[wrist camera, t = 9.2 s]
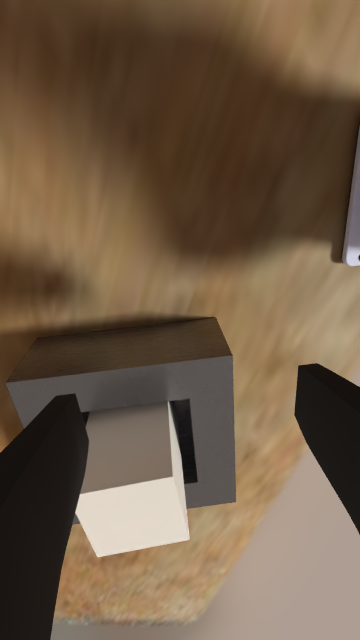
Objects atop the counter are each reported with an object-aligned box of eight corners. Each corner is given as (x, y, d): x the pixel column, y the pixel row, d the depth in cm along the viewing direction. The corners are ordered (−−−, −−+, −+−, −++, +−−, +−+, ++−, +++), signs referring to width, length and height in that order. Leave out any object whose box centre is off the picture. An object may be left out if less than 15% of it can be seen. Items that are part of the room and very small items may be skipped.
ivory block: (165, 367, 20) (172, 476, 13) (177, 419, 22) (189, 539, 15) (98, 380, 20) (67, 496, 13) (115, 431, 22) (97, 557, 15)
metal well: (215, 317, 19) (232, 355, 15) (221, 446, 24) (235, 501, 20) (36, 338, 19) (5, 383, 15) (78, 465, 24) (62, 525, 20)
